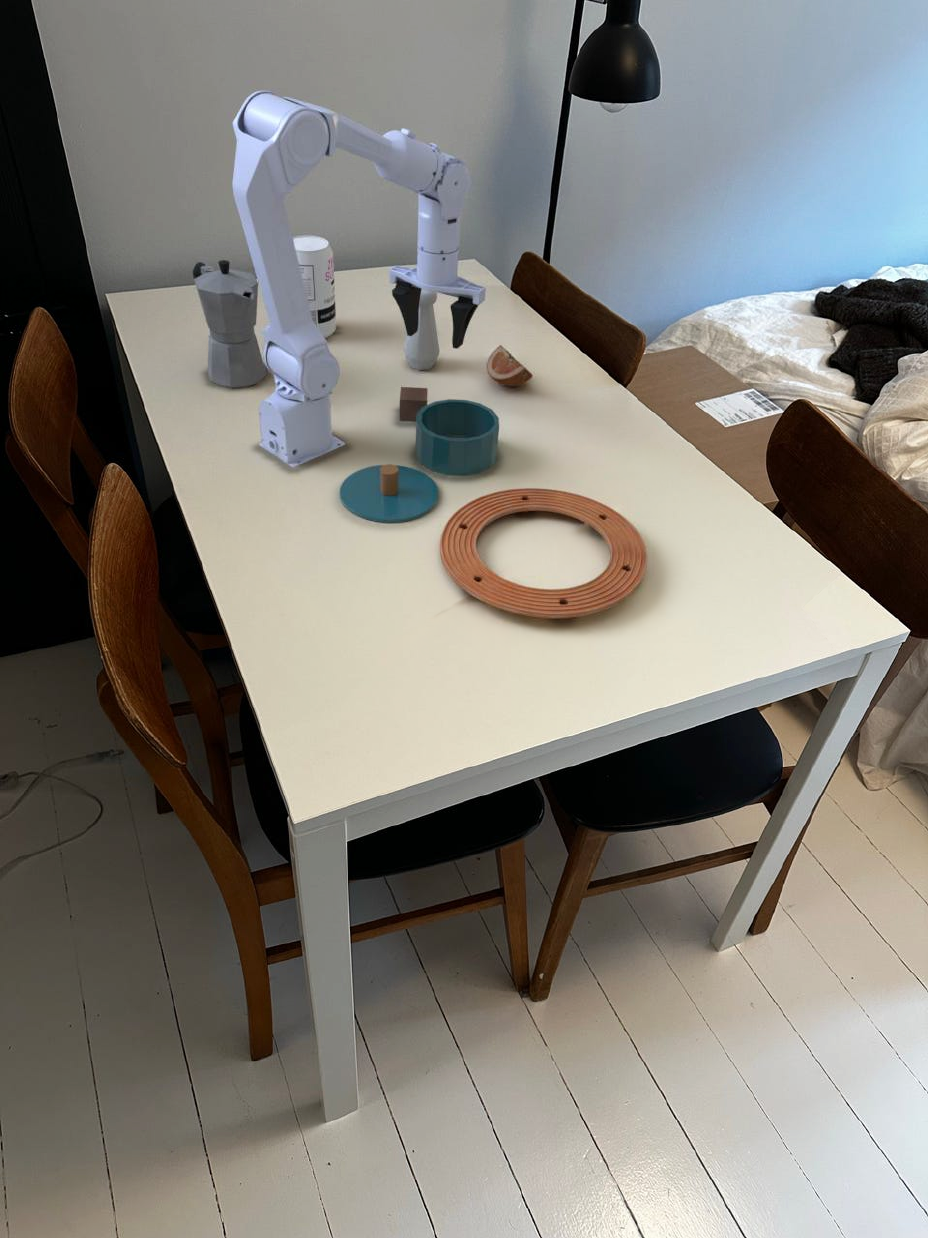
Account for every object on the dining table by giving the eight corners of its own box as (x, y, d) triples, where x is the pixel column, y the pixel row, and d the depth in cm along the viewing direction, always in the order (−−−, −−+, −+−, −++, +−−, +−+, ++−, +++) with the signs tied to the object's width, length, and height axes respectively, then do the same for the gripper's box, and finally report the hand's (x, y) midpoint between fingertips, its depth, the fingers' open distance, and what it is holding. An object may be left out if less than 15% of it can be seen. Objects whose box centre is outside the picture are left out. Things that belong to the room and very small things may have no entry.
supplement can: (282, 325, 162) (274, 236, 152) (327, 318, 165) (323, 231, 155) (296, 344, 156) (289, 254, 146) (342, 337, 159) (339, 249, 149)
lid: (385, 539, 117) (385, 509, 114) (319, 495, 123) (318, 465, 120) (458, 500, 124) (460, 471, 121) (392, 461, 130) (392, 432, 128)
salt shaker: (423, 376, 150) (425, 297, 142) (396, 364, 153) (396, 286, 144) (445, 363, 154) (449, 286, 145) (419, 353, 156) (420, 276, 148)
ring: (470, 643, 103) (472, 626, 101) (418, 513, 121) (418, 498, 120) (678, 612, 109) (682, 596, 107) (598, 492, 127) (601, 477, 125)
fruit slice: (539, 392, 148) (542, 363, 145) (501, 399, 146) (504, 370, 142) (514, 369, 153) (517, 341, 150) (478, 376, 151) (480, 347, 148)
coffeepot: (286, 381, 146) (277, 267, 134) (235, 399, 141) (220, 282, 129) (231, 347, 154) (218, 236, 142) (181, 363, 149) (162, 249, 137)
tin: (455, 488, 126) (457, 449, 122) (398, 454, 132) (399, 416, 128) (512, 459, 132) (516, 421, 129) (455, 428, 138) (457, 391, 134)
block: (399, 423, 138) (399, 399, 136) (400, 410, 141) (400, 386, 139) (426, 425, 138) (427, 400, 136) (427, 411, 141) (427, 387, 139)
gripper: (497, 248, 130) (490, 341, 139) (406, 227, 134) (405, 318, 143) (475, 264, 125) (469, 359, 134) (381, 242, 129) (382, 335, 138)
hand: (434, 339), depth 138 cm, fingers open, 7 cm apart
